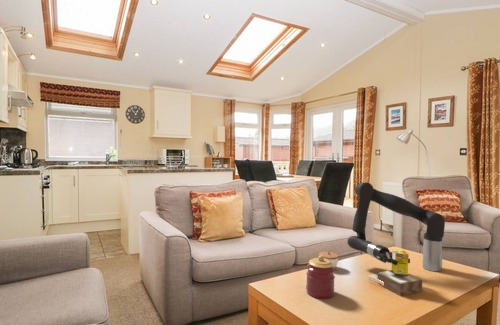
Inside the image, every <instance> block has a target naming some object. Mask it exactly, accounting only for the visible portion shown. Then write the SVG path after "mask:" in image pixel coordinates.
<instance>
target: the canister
mask: <svg viewBox="0 0 500 325" xmlns="http://www.w3.org/2000/svg"><path fill="white" fill-rule="evenodd" d="M335 268H336V267H335ZM335 268H334V267H333V263H332V262H331V261H330V260H328V259H326V258H324V257H323V256H321V255H320V256H319V255H318V257H314V258H311V259H310V260H308V264H307V265H306V269H307V271H306V285H305V289H306V293H307V294H308V295H309V296H311V297H313V298H316V299H324V300H325V299H330V298H332V297H333V296H334V295H335V278H336V276H335V274H334V273H335V271H336V269H335Z"/></svg>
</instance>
